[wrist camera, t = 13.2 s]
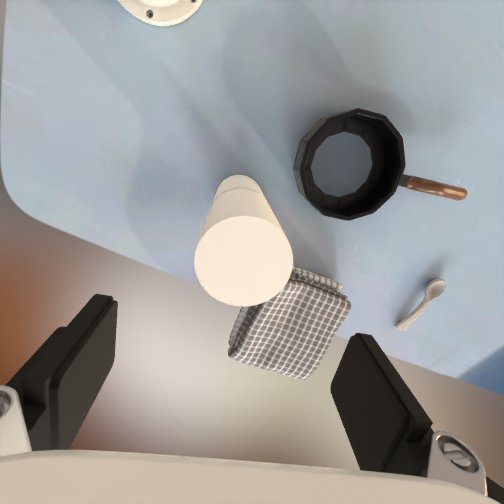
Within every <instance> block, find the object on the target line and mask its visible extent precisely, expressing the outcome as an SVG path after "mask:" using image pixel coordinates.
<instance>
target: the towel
mask: <svg viewBox="0 0 504 504" xmlns="http://www.w3.org/2000/svg"><path fill="white" fill-rule="evenodd" d="M342 286H343V285H342V284H341V283H339V282H336V281H334V280H331V279H329V278H326V277H323V276H319V275H317V274H315V273H312V272H309V271H306V270H303V269H300V268H298V267H294V266H293V267H292V272H291V275H290V278H289V280H288V281H287V283H286V285H285V286H284V287H283V289H282V290H281V291H280V292H279V293H278V294H277V295H275V296H274V297H273V298H271V299H269V300H268V301H266V302H263V303H261V304H258V305H253V306H247V307H243V306H242V308H241V310H240V313H239V315H238V318H237V320H236V322H235V324H234V328H233V330H232V332H231V334H230V340H229V345H230V348H229V351H228V356H229V357H231V358H233V359H234V360H236V361H240V362H242V363H246V364H247V365H252V366H254V367H259V368H263V369H267V370H272V371H274V372H277V373H279V374H283V375H286V376H290V377H294V378H296V379H301V380H306V379H307V378H308V377H309V376H310V375H311V374H313V373H314V371H315V370H316V369H317V366H318V365H319V363H320V362H321V360H322V358H323V357H324V354H325V353H326V350H327V349H328V347H329V344H330V343H331V341H332V338H333V337H334V335H335V332H336V331H337V330H338V328H339V326H340V325H341V323H342V321H343V320H344V319H345V318H346V315H347V314H348V313H349V310H350V309H351V304H350V301H347V299H348V297H347V296H345V295H343V294H341V293H340V292H339V291H340V289H341V288H342Z"/></svg>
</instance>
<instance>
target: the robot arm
mask: <svg viewBox="0 0 504 504" xmlns="http://www.w3.org/2000/svg"><path fill="white" fill-rule="evenodd" d="M118 1H119V2H120V3H121V5H122V6H123V7H124V8H125V9H126V10H127V11H128V12H130V13H131V14H132V15H133V16H135V17H136V18H138V19H140V20H142V21H143V22H146V23H149V24H152V25H157V26H169V25H175V24H177V23H180V22H183V21H184V20H186V19H187V18H189V17H190V16H191V15H192V14H193V13H194V12H195V11H196V10H197V9H198V8H199V6H200V4H201V3H202V1H203V0H196V1H195V2H192V0H118ZM151 14H152V15H153V17H152V18H150V15H151ZM117 307H118V302H117V301H114V300H113V297H112V296H107V295H100V294H95V295H94V296H93V297H92V298H91V299H90V300H89V302H88V303H87V304H86V305H85V306H84V307H83V308H82V310H81V311H80V312H79V313H78V314H77V315H76V317H75V318H74V319H73V320H72V321H71V322H70V323H69V325H68V326H67V327H59V328H58V329H56V330H55V331H54V333H53V334H52V335H51V336H50V337H49V338H48V339H47V340H46V341H45V342H44V343H43V345H42V346H41V347H40V348H39V349H38V350H37V351H36V352H35V353H34V355H33V356H32V357H31V358H30V359H29V360H28V361H27V362H26V363H25V364H24V366H22V368H21V369H20V370H19V371H18V372H17V373H16V374H15V375H14V377H13V378H12V379H11V380H10V381H9V382H8V383H7V384H6V385H5V386H4V385H0V504H504V488H502V487H501V486H499V485H498V484H497V483H495V482H494V481H492V480H491V479H489V478H488V477H487V476H486V473H485V468H484V464H483V462H482V461H481V459H480V457H479V456H478V454H477V453H476V452H475V451H474V450H473V449H472V448H471V447H470V446H469V445H468V444H467V443H466V442H464V441H463V440H462V439H460V438H459V437H457V436H455V435H453V434H451V433H449V432H445V431H437V432H433V430H432V429H431V425H432V424H433V423H432V421H431V419H430V418H429V417H428V415H427V414H426V412H425V411H424V409H423V408H422V407H421V405H420V404H419V402H418V401H417V399H416V398H415V396H414V395H413V394H412V392H411V391H410V389H409V388H408V386H407V385H406V384H405V383H404V381H403V379H402V378H401V376H400V375H399V374H398V372H397V371H396V369H395V368H394V366H393V365H392V364H391V362H390V361H389V359H388V358H387V356H386V355H385V353H384V352H383V351H382V349H381V348H380V346H379V345H378V343H377V342H376V341H375V339H374V338H373V336H372V335H368V334H361V333H356V334H355V335H354V336H351V338H350V340H349V342H348V344H347V347H346V349H345V352H344V354H343V357H342V359H341V361H340V364H339V366H338V368H337V371H336V373H335V376H334V378H333V381H332V383H331V394H332V397H333V399H334V402H335V405H336V407H337V410H338V412H339V415H340V417H341V420H342V423H343V426H344V428H345V431H346V433H347V436H348V439H349V441H350V444H351V446H352V449H353V452H354V454H355V457H356V460H357V462H358V465H359V467H360V470H349V469H338V468H327V467H314V466H303V465H290V464H278V463H265V462H252V461H239V460H228V459H227V460H226V459H214V458H201V457H187V456H174V455H160V454H146V453H131V452H111V451H94V450H69V448H70V446H71V444H72V443H73V441H74V439H75V437H76V435H77V433H78V431H79V429H80V427H81V425H82V423H83V421H84V420H85V418H86V416H87V414H88V412H89V410H90V408H91V406H92V404H93V402H94V400H95V398H96V397H97V395H98V393H99V391H100V389H101V387H102V385H103V383H104V381H105V379H106V377H107V375H108V374H109V372H110V370H111V368H112V365H113V362H114V357H115V341H116V324H117Z"/></svg>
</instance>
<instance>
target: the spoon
mask: <svg viewBox="0 0 504 504" xmlns="http://www.w3.org/2000/svg"><path fill="white" fill-rule="evenodd" d="M445 288H446V282H445V281H444V280H443V279H435V280H433V281H431V282H430V283H429V284H428V285H427V286H426V288H425V297H424V299H423V301H422V302H421V304H420V305H419V306H418V307H417V308H416V309H415V310H414V311H413V312H412V313H411V314H410V315H408V316H407V317H406V318H404V319H403V320H401V321H400V322H398V323H397V324H396V325H395V326H396V328H397V329H399V330H401V331H403V330H405V329H406V328H407V327H408V326H409V325H410V324H411V323H412V322H413V321H414V320H415V319H416V318H417V317H418V316H419V315H420V314H421V313H422V311H423V310H424V309H425V308H426V306H427V305H428V304H429V302H430V301H431V300H432V299H433V298H435V297H437V296H439V295H440V294H441V293H442V292H443V291H444V290H445Z"/></svg>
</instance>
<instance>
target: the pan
mask: <svg viewBox="0 0 504 504" xmlns="http://www.w3.org/2000/svg"><path fill="white" fill-rule="evenodd" d="M344 131H345V132H349V133H353V134H356V135H360V136H361V137H362V139H363V140H364V141H365V142H366V143H367V144H368V146H369V147H370V149H371V156H372V163H373V165H372V168H371V170H370V173H369V176H368V179H367V181H366V182H365V183H364V184H363V185H362V186H361V187H360V188H359V189H358V190H357V191H356V192H355V193H352V194H349V195H345V196H342V197H335V196H331V195H326V194H324V193H323V192H322V191H321V190H320V189H319V188H318V187H317V186H316V185H315V184H314V181H313V176H312V172H311V164H312V160H313V157H314V153H315V150H316V149H317V148H318V147H319V146H320V145H321V144H322V143H323V141H324V140H325V139H326V138H327V137H329V136H332V135H335V134H338V133H341V132H344ZM405 165H406V164H405V154H404V145H403V138H402V136H401V135H400V133H399V132H398V131H397V130H396V128H395V127H394V126H393V125H392V123H391V122H390V121H389V120H388V118H387V117H386V116H385V115H381V114H378V113H374V112H370V111H367V110H363V109H359V108H358V109H353V110H349V111H345V112H342V113H339V114H336V115H333V116H330V117H327V118H324V119H321V120H319V121H318V122H317V123H316V124H315V125H314V126H313V128H312V129H311V130H310V131H309V132H308V133H307V134H306V135H305V136H304V137H303V139H302V140H301V142H300V143H299V147H298V151H297V155H296V158H295V162H294V166H293V170H294V174H295V178H296V182H297V186H298V190H299V192H300V194H301V195H302V196H303V197H304V198H305V199H306V200H307V201H308V202H309V203H310V204H311V205H312V206H313V207H314V208H315V209H316V210H318V211H319V212H320V213H321V214H322V215H324V216H328V217H333V218H337V219H342V220H347V221H348V220H349V221H350V220H353V219H356V218H359V217H362V216H366V215H369V214H372V213H374V212H375V211H377V210H378V209H379V208H380V207H381V206H382V205H383V204H384V203H385V202H386V201H387V200H388V199H389V198H390V197H391V196H392V195H394V193H395V192H396V189H397V187H398V186H402V187H406V188H408V189H412V190H416V191H420V192H425V193H429V194H433V195H437V196H441V197H446V198H450V199H454V200H463V199H464V198H466V196H467V191H466V190H465V189H464V188H460V187H456V186H452V185H448V184H444V183H440V182H436V181H432V180H427V179H423V178H419V177H415V176H408V175H404V174H403V171H404V169H405Z"/></svg>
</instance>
